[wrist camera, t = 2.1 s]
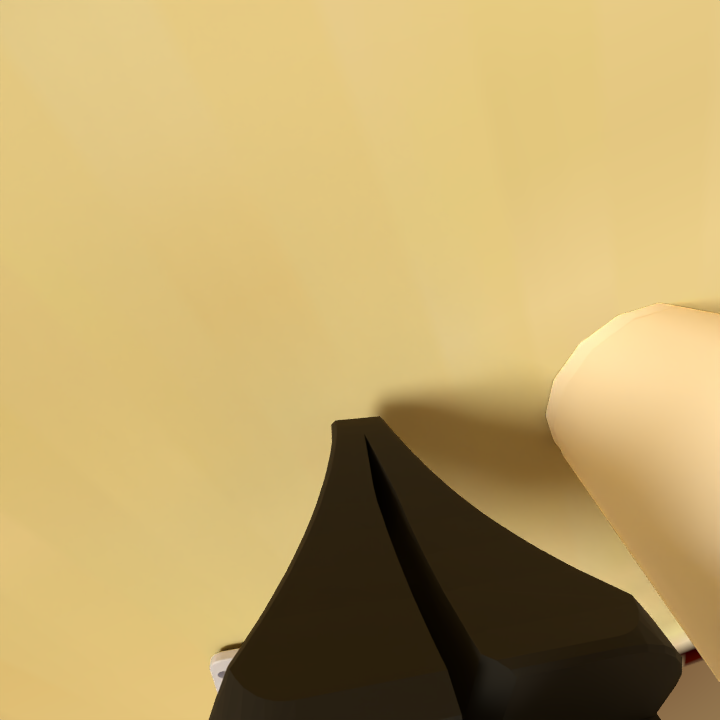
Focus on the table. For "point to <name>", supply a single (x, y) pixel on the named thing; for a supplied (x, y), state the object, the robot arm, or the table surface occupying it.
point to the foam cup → (653, 451)
